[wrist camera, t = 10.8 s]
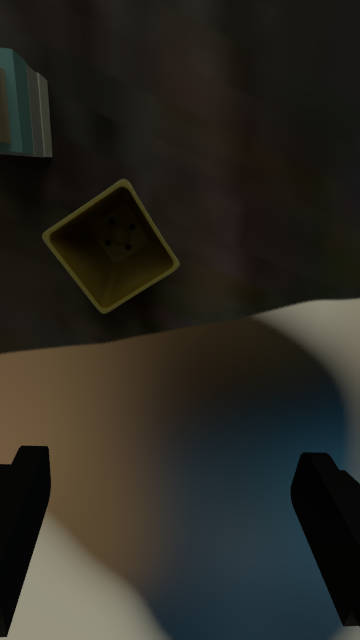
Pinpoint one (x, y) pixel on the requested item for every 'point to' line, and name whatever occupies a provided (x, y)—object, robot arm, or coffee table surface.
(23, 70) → the slab top
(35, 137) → the slab middle
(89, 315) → the coffee table surface
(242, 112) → the coffee table surface
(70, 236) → the flower pot
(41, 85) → the slab bottom
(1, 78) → the birch block
